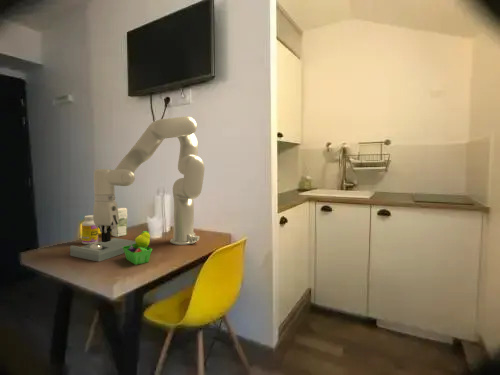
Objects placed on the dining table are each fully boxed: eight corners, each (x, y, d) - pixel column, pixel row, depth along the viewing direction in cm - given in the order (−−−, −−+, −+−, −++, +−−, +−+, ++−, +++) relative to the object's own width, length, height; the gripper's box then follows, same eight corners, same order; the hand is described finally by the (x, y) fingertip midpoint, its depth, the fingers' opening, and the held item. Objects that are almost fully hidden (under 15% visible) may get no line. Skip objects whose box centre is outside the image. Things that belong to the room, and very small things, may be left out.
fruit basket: (121, 259, 112) (121, 231, 112) (143, 254, 119) (143, 228, 118) (133, 266, 104) (133, 236, 104) (156, 261, 111) (156, 233, 110)
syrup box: (121, 233, 154) (121, 207, 153) (127, 235, 150) (127, 208, 149) (111, 235, 149) (110, 208, 148) (117, 237, 146) (116, 209, 145)
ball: (100, 258, 116) (107, 247, 119) (92, 252, 113) (100, 241, 115) (91, 255, 118) (98, 245, 121) (84, 250, 114) (91, 240, 117)
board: (141, 247, 129) (141, 238, 129) (99, 261, 109) (98, 251, 108) (114, 243, 135) (114, 234, 135) (70, 255, 115) (70, 246, 114)
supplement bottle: (91, 245, 130) (90, 217, 129) (78, 244, 131) (78, 216, 131) (101, 241, 137) (101, 215, 136) (89, 240, 138) (89, 214, 137)
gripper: (125, 198, 120) (126, 241, 121) (99, 196, 125) (101, 237, 127) (110, 200, 113) (112, 245, 114) (84, 198, 118) (85, 241, 120)
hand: (106, 241), depth 120 cm, fingers closed
